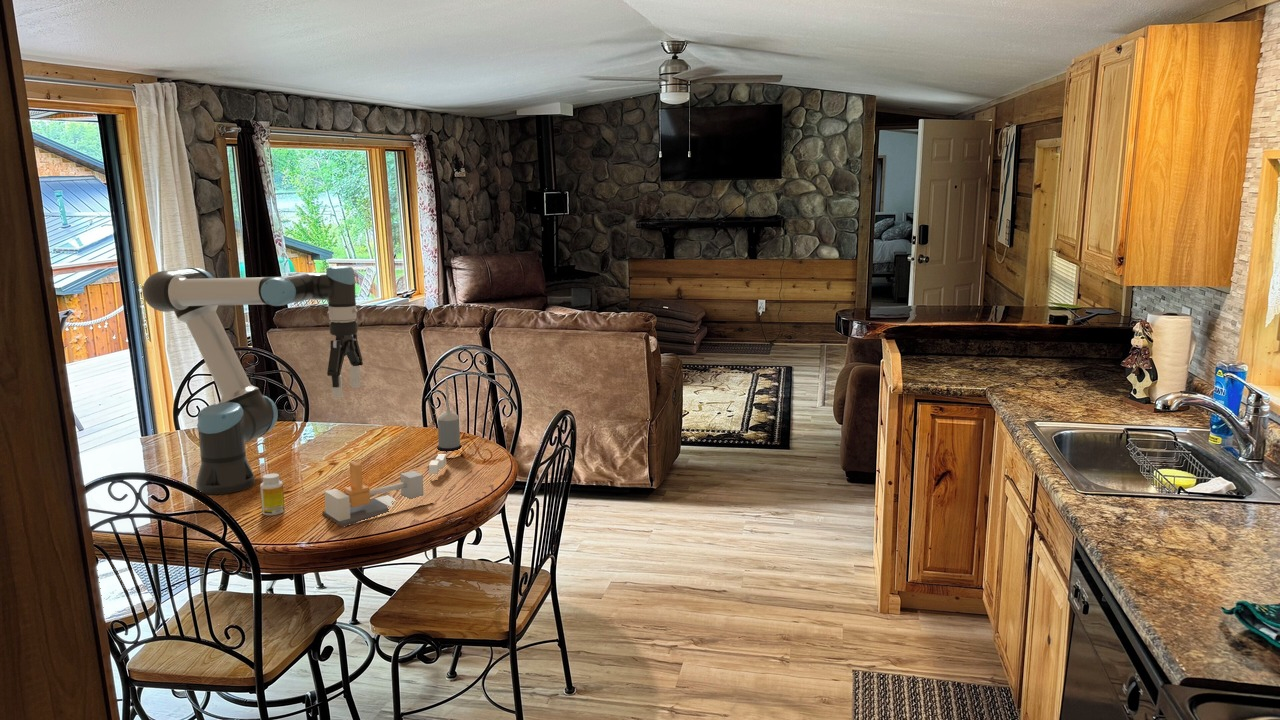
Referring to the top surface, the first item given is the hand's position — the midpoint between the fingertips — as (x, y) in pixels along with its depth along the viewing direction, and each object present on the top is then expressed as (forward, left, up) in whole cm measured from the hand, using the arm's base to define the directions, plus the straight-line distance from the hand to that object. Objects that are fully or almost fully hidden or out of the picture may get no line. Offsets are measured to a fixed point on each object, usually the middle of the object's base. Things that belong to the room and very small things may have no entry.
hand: (346, 392), depth 253 cm
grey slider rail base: (-6, -29, -26) cm, 39 cm away
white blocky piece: (+20, -14, -27) cm, 36 cm away
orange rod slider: (-12, -29, -23) cm, 39 cm away
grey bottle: (+34, +1, -26) cm, 43 cm away
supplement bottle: (-28, -13, -26) cm, 40 cm away
